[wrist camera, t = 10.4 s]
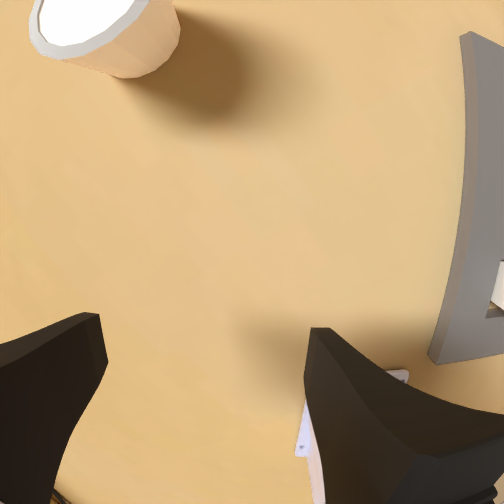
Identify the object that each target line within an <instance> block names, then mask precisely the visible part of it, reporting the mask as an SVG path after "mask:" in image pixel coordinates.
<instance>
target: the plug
mask: <svg viewBox="0 0 504 504" xmlns="http://www.w3.org/2000/svg"><path fill="white" fill-rule="evenodd" d="M491 301H492V302H493V303H495V304H496V305H497V306H499V307H500V308H501V309H503V310H504V260H500V265H499V269H498V274H497V278H496V282H495V286H494V290H493V293H492V297H491Z"/></svg>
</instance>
